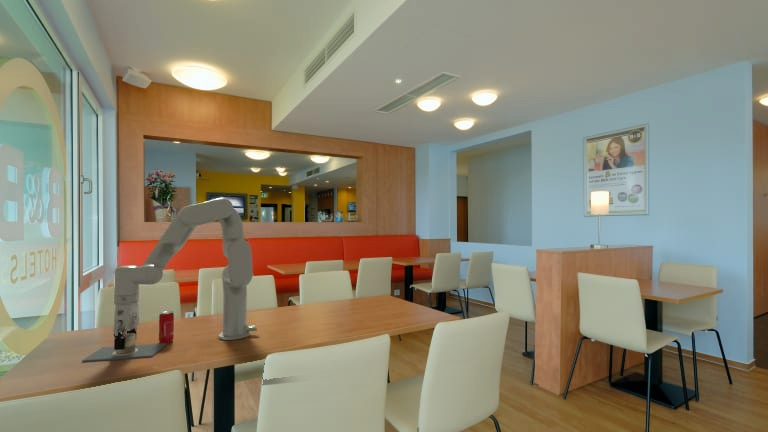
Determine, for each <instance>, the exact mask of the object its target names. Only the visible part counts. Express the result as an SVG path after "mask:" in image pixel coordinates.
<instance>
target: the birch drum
mask: <svg viewBox="0 0 768 432" xmlns="http://www.w3.org/2000/svg"><path fill="white" fill-rule="evenodd" d="M124 338H125V349H122V350H116V354H117V355H123V354H129V353H132V352H134V351H135V345H136V341H137V333H136V334H134V333H127V334H126V333H125V336H124Z"/></svg>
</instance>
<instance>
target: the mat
mask: <svg viewBox="0 0 768 432" xmlns="http://www.w3.org/2000/svg"><path fill="white" fill-rule="evenodd" d="M166 344H167V343H162V344H161V343H151V344H150V343H149V344H135V351H134V352H132V353H129V354H123V355H117V354H116V350H114V346H105V347H101V348H99V349H98V350H96V351H94V352H93V353H91V354H90V355H88V356H86V357H85V358H84V359H82V360H81V363H88V362H89V363H90V362H91V363H92V362H102V361H104V362H105V361H116V360H127V359H128V360H129V359H130V360H131V359H142V358H153V357H154V356H155V355H156V354H157V353H159V351H161V350H162V349H163V347H165V346H166Z"/></svg>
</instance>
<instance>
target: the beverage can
mask: <svg viewBox="0 0 768 432" xmlns="http://www.w3.org/2000/svg"><path fill="white" fill-rule="evenodd" d="M158 320H159V321H158V341H159V344H162V343H166V344H169V343H172V342H173V340H174V330H175V329H174V324H175V323H174V322H175V313H174V311H173V310H172V311H171V310H170V311H168V310H167V311H162V312H159V315H158Z"/></svg>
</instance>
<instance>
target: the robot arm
mask: <svg viewBox="0 0 768 432" xmlns="http://www.w3.org/2000/svg"><path fill="white" fill-rule="evenodd" d="M216 221H218V222H219V224H220V227H221V232H222V234H221V235H222V236H221V237H222V252H223V255H224V256H225V257H226V258H227V265H226V266H225V267H224V269H223V270H222V274H221V278H222V280H221V281H222V293H223V294H222V331H221V332H220V333H219V334H218V338H219V339H220V340H224V341H236V340H242V339H245V338H247V337H249V336H250V335H251V332H258V326H257V325H256V326H255V325H248V322H247V307H248V306H247V300H248V299H247V298H248V291H247V289H248V288H247V286H248V285H249V284H251V281H252V279H253V273H254V272H253V255H252V253H253V252H252V248H251V245H250V243H249V242H248V241H247V240H245V237H244V236H245V235H244V228H243V225H244V224H243V221H242V218H241V215H240V214H239V212H238V211H237V210H236V208H234V205H233V203H232V202H231V201H230V199H228V198H225V197H218V198H214V199H211V200H207V201H203V202H199V203H195V204H189V205H186V206H183V207H181V208H180V210H179V211H178V212H177V214H176V215H175V217H174V218H173V219H172V220H171V222H170V224H169V226H168V227H167V228H166V230H165V232H164V233H163V234H162V236H160V238H159V240H158V242H157V243H156V245H155V247H154V248H153V249H152V251H151V252H150V253H149V254H148V257H147V258H146V259H145V261H144V262H143V263H142V265H141V266H137V265H132V264H131V265H120V266H117V267H116V268H115V270H114V290H113V291H114V296H113V298H114V299H113V304H114V305H115V309H114V318H113V329H112V331H113V340H114V341H113V342H114V344H113V345H114V346H113V347H114V350H122V349H125V338H124V336H125V334H127V333H134V334H136V335H137V329H138V326H139V325H140V314H139V313H140V310H139V308H140V307H139V297H140V296H139V295H140V294H139V293H140V285H148V286H149V285H155V284H158V283H160V282H161V281H162V279H163V275H164V272H163V271H164V269H165V268H166V266H167V265H168V263H169V262H170V261H171V259H172V258H173V257H174V256H175V255H176V254H177V253H178V252H179V251H181V250H182V248H184V246H185V245H186V242H187V241H188V240H189V238H190V236H191V235H192V234H193V232H194V231H195V229H196V228H197V227H198V226H203V225H206V224H210V223H213V222H216Z"/></svg>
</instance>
